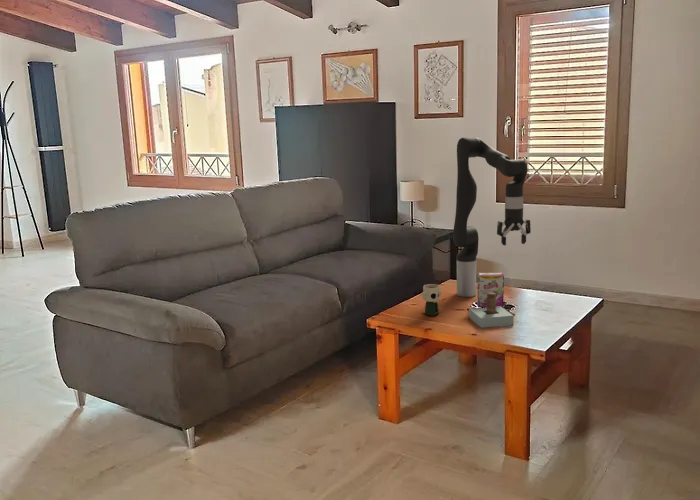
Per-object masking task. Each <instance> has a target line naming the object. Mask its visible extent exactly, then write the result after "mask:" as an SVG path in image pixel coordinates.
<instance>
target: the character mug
mask: <svg viewBox="0 0 700 500" xmlns="http://www.w3.org/2000/svg"><path fill="white" fill-rule="evenodd" d="M422 288H423V289H422V290H423V291H422V292H421V298H422V300H423V301H425V305H424V314H426V315H427V316H437V315H439V314H440V311H439V310H440V308H439V303H438V302H439V300H440V299H441V294H442V290H441V287H440V285H439V284H434V283H429V284H428V283H427V284H424V285H423V286H422Z"/></svg>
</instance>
